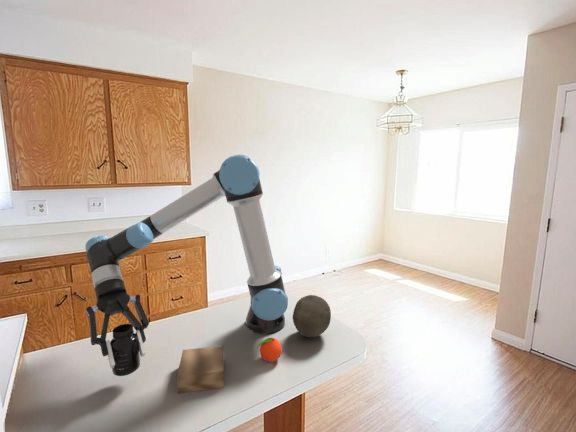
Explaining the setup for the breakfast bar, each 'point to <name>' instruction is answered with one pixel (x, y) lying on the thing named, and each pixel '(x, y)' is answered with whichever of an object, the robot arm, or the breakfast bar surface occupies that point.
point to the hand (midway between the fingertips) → (128, 360)
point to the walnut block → (201, 369)
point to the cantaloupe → (311, 316)
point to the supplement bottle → (125, 350)
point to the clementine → (270, 349)
